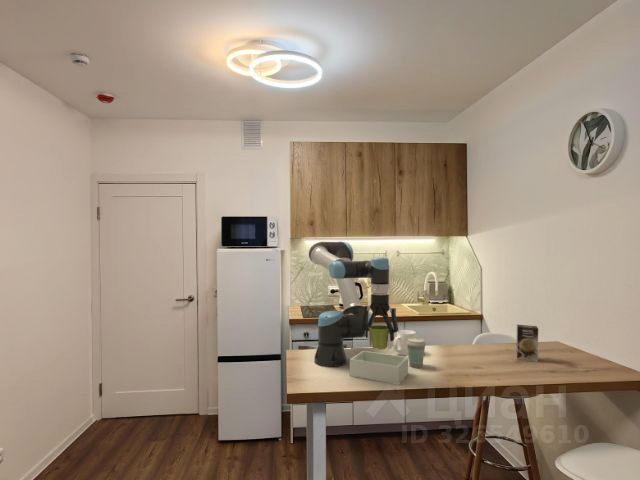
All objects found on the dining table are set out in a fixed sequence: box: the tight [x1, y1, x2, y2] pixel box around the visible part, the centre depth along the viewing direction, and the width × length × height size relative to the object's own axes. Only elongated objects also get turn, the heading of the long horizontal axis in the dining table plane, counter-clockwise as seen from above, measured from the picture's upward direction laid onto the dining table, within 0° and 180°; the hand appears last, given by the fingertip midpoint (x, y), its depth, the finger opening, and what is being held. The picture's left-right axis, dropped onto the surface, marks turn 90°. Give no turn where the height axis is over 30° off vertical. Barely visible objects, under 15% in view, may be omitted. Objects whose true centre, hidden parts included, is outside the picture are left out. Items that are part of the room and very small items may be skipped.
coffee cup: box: [407, 337, 426, 369], centre depth 183 cm, size 8×8×12 cm
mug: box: [392, 329, 418, 356], centre depth 203 cm, size 14×10×11 cm
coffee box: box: [515, 324, 539, 363], centre depth 195 cm, size 9×6×16 cm
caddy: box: [349, 350, 409, 385], centre depth 171 cm, size 21×15×7 cm
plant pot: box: [369, 324, 390, 350], centre depth 171 cm, size 9×9×9 cm
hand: (379, 346), depth 171 cm, fingers closed on plant pot, 8 cm apart
